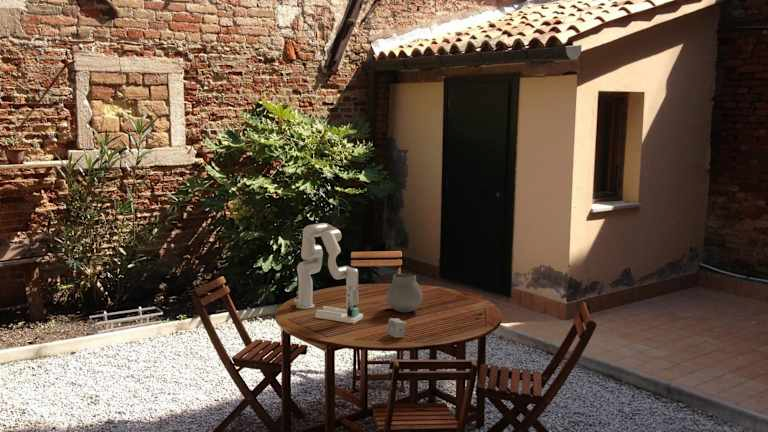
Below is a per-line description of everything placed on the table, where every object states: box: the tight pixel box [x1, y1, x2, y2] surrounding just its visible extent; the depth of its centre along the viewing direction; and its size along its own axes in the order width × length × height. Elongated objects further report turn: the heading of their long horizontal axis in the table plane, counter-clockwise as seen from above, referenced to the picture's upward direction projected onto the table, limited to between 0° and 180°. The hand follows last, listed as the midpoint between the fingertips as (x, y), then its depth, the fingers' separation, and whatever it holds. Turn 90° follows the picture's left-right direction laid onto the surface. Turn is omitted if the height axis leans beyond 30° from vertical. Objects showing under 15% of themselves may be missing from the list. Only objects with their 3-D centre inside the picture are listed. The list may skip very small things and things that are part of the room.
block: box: [349, 307, 360, 317], centre depth 457 cm, size 5×5×5 cm
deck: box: [314, 305, 364, 324], centre depth 461 cm, size 28×14×4 cm, turn 67°
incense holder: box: [386, 317, 408, 339], centre depth 426 cm, size 10×8×10 cm
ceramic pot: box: [385, 273, 423, 313], centre depth 478 cm, size 24×24×25 cm
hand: (351, 314), depth 457 cm, fingers open, 5 cm apart
